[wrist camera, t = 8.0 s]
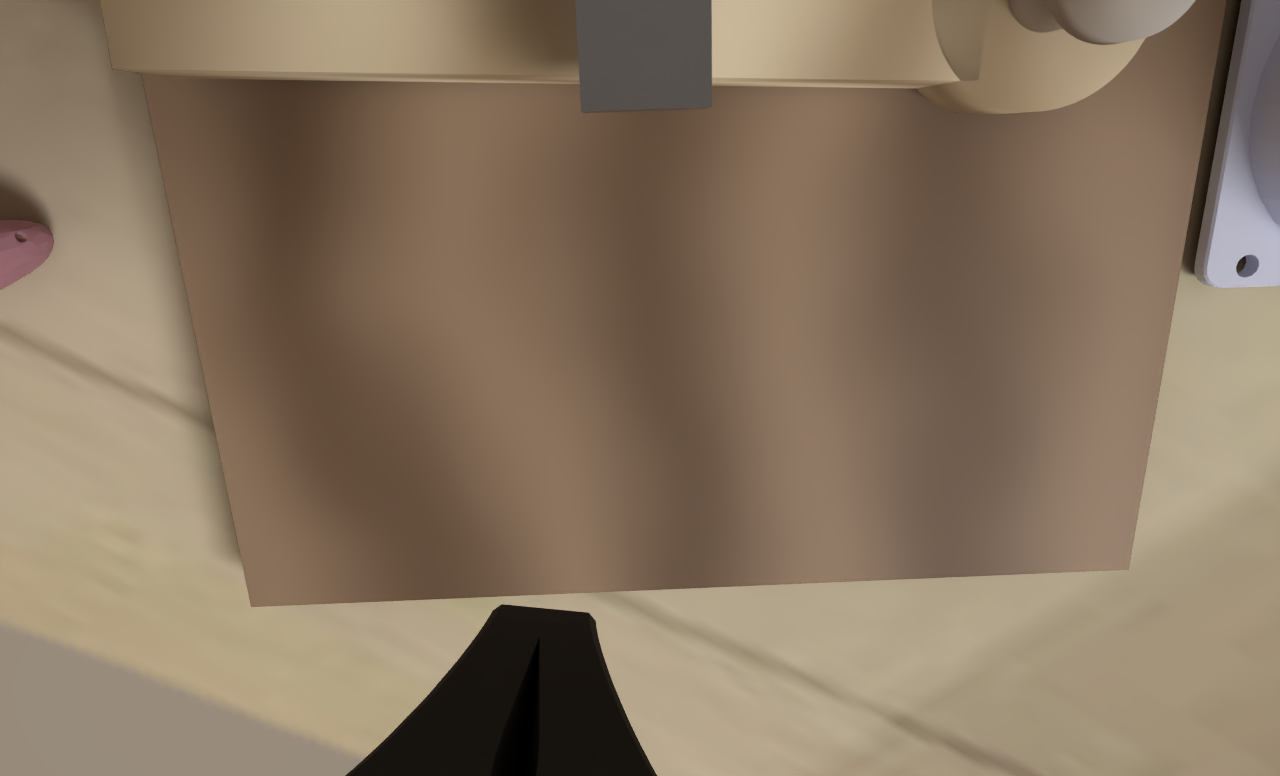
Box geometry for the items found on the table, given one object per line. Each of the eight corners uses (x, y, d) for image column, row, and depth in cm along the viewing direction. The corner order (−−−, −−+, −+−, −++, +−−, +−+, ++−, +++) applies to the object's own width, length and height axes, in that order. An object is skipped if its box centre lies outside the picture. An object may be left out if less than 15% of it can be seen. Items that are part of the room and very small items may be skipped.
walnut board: (1282, -597, 14) (1340, -661, 13) (1100, 546, 21) (1128, 569, 20) (46, -572, 14) (-6, -637, 13) (271, 581, 21) (251, 607, 20)
